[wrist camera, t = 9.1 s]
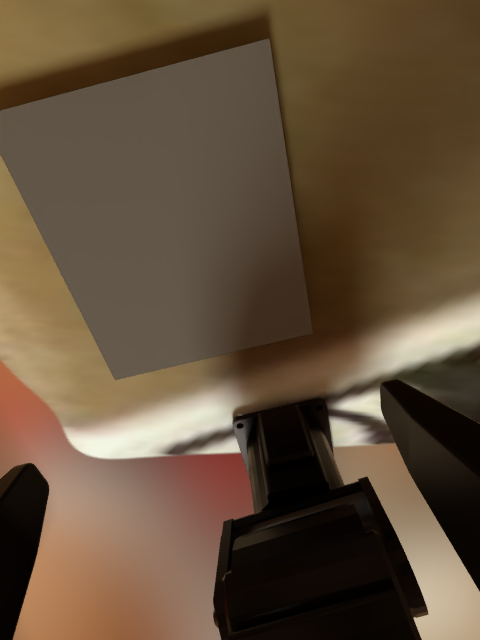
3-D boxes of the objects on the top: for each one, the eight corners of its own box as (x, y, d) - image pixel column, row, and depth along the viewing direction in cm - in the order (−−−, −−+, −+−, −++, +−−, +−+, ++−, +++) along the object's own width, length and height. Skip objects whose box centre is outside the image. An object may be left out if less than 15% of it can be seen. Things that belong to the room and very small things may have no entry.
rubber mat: (308, 324, 22) (313, 333, 21) (118, 370, 22) (115, 380, 21) (265, 43, 15) (269, 38, 14) (-7, 115, 15) (-20, 115, 15)
